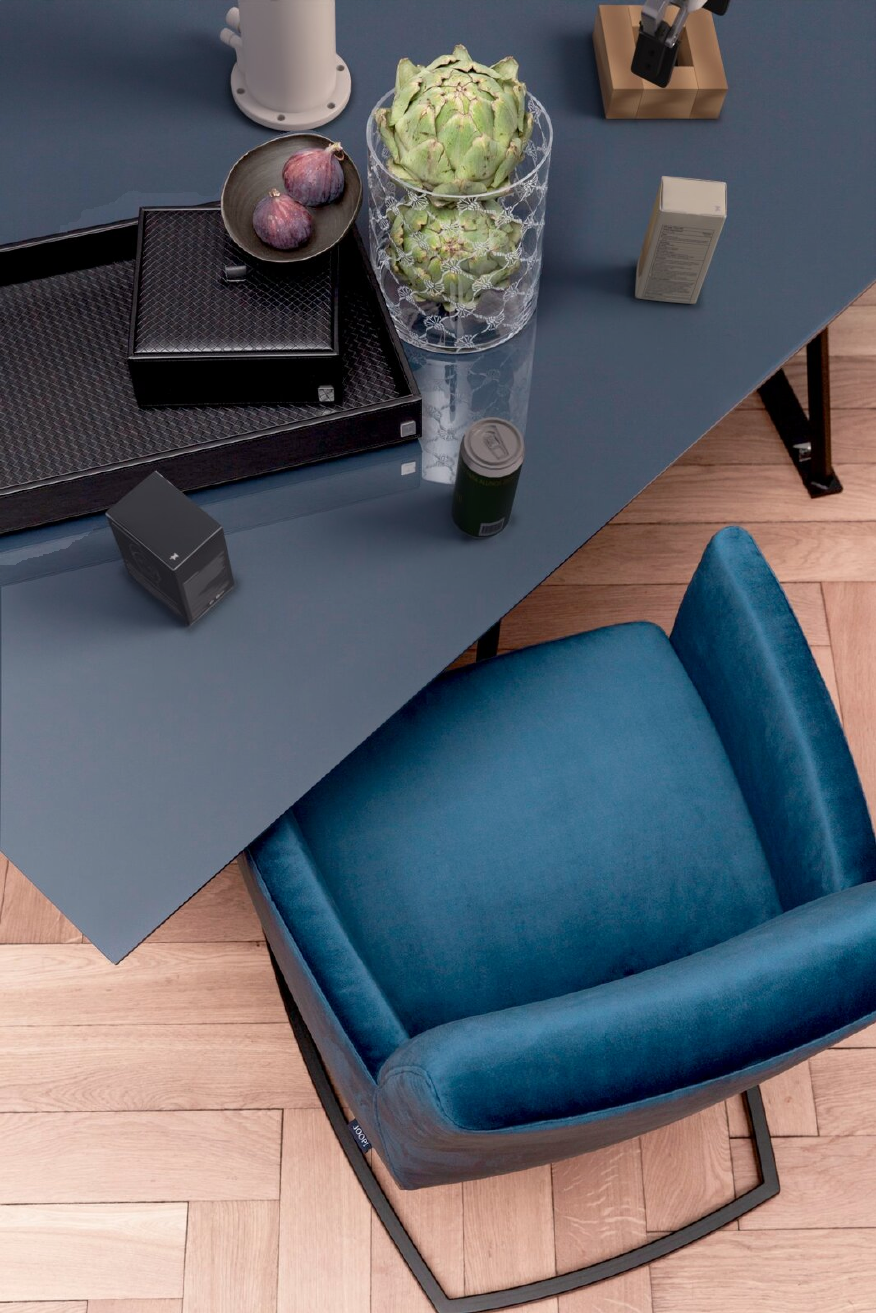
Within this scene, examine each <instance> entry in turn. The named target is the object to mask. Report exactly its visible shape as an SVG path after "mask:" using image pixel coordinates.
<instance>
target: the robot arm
mask: <svg viewBox="0 0 876 1313" xmlns="http://www.w3.org/2000/svg"><path fill="white" fill-rule="evenodd" d="M731 1H732V0H646V1H645V3H644V4H643V5H644V6H643V8H642V11H641V21H639V24H640V27H639V30H638V32H639V35H638V40H637V44H636V48H635V52H634V56H633V60H632V64H631V72H632V73H633V74H635V75H637V76H639V77H641V78H643V79H645V80H647V81H649V82H651V83H653V84H655V85H657V86H659V87H661V88H665V87H666V86H667V85H668V84H669V82H670V79H671V76H672V72H673V69H674V67H675V66H676V61H677V55H678V51H679V48H680V44H681V41H679V40H678V39H677V38H678V36H679V34H680V32H681V30H682V28H683V26H684V23H685V21H686V19H687V17H688V15H689V13H690V12H693V11H696V10H698V9H700V8H701V7H702V8H704V9H706V10H708V11H710V12H711V14H715V15H716V16H718V17H719V16H720V17H722V16H725V14H726V13H727V12H728V10H729V7H730V4H731ZM669 4H671V5H674V6H677V7H679V8H680V9H679V11H678V13H677V16H676V18H675V20H674V22H673V24H672V26H671V27H670V25H669V24H668V23H667V22H665V21H663V19H664V17H665V11H666V8H667V6H668V5H669ZM237 6H238V7H235V6H234V7H231V8H230V9H229V10H228V11H227V14H226V16H225V22H226V25H228V26H229V27H230V28H232V29H234V31H236V32H238V33H240V36H239V35H238V34H237V33H235V32H234V31H233V30H231V29H229V28H227V27H224V28H223V29H222V30H221V31H220V34H219V39H220V41H221V42H222V43H225V45H227V46H229V47H232V48H233V49H234V50H235V53H236V62H235V63H234V65H233V67H232V71H231V74H230V87H231V94H232V97H233V99H234V102H235V104H236V105H237V107H238V108H239V110H240V111H241V112H242V113H243V114H244V115H245V116H246V117H248V118H249V119H251V120H252V121H253V122H255V123H256V124H259V125H262V126H264V127H266V128H270V129H273V130H278V131H283V132H284V131H285V132H301V131H302V132H303V131H308V130H312V129H315V128H319V127H322V126H324V125H325V124H327V123H330V122H331V121H332V120H334V119H335V118H337V117H338V116H339V115H340V114H341V113H342V112H343V110H344V109H345V108H346V106H347V104H348V102H349V100H350V97H351V93H352V79H351V74H350V70H349V68H348V65H347V63H346V62H345V61H344V60H343V58H342V57H341V56H340V55H339V54H338V53H337V50H336V49H337V48H336V46H337V44H336V42H337V41H336V0H237Z"/></svg>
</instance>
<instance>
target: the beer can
mask: <svg viewBox="0 0 876 1313" xmlns="http://www.w3.org/2000/svg"><path fill="white" fill-rule="evenodd" d="M525 455H526V450H525V443H524V437H523V435H522V432H521V431H520V430H519V429H518V428H517V426H516V425H515V424H514V423H512V422H510V421H508V420H507V419H505V418H501V417H498V416H497V417H496V416H494V417H493V416H491V417H490V416H487V417H484V418H480V419H478V420H476V421H474V422H473V423H471V425H470V426H469V427H468V428H467V430H466V431H465V433H464V434H463V436H462V438H461V440H460V444H459V451H458V458H457V464H456V472H455V477H454V478H455V479H454V485H453V492H452V498H451V505H450V512H451V518H452V521H453V522H454V524H455V526H457V528H458V529H459V530H460V531H461V533H463V534H465V535H466V536H468V537H471V538H474V539H488V538H492V537H494V536H496V535H497V534H499V533H501V532H502V531H504V529H505V528H506V526H508V524H509V521H510V518H511V515H512V514H511V513H512V509H513V506H514V501H515V497H516V493H517V489H518V485H519V480H520V476H521V473H522V469H523V465H524V464H523V463H524V461H525V457H526V456H525Z"/></svg>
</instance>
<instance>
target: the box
mask: <svg viewBox="0 0 876 1313" xmlns="http://www.w3.org/2000/svg"><path fill="white" fill-rule="evenodd" d="M105 516H106V519H107V521H108V525H109V527H110V529H111V532H112V534H113V537H114V540H115V542H116V545H117V547H118V550H119V553H120V555H121V558H122V560H123V564H124V566H125V569H126V572H127V573H128V575H129V576H130V577H132V579H133V580H135V581H136V582H137V583H138V584H139V585H140V586H142V587H143V589H145V590H146V591H147V592H149V593H150V595H152V596H153V597H154V598H156V599H157V600H158V601H159V602H160V603H161V604H163V605H164V606H165V607H166V608H167V609H169V611H170V612H172V613H173V614H174V615H176V617H177V618H179V619H180V620H181V621H182V622H183V623H184V624H186V625H187V626H188V627H191V626H192V625H193V624H194V623H195V622H196V621H198V620H199V619H200V618H201V617H203V615H204V614H206V613H207V612H208V611H209V610H210V609H211V608H212V607H213V606H215V605H216V604H217V602H219V601H220V600H221V599H222V598H223V597H224V596H226V594H227V593H228V592H230V591H231V590H233V588H234V587H235V580H234V576H233V575H234V574H233V570H232V564H231V560H230V556H229V555H230V554H229V551H228V546H227V540H226V536H225V531H224V525H223V524H221V523H219V521H217V520H216V519H215V518H213V516H211V515H210V514H209V513H207V511H205V510H204V509H202V508H201V506H199V505H198V504H197V503H195V502H194V501H193V500H192V499H191V498H189V497H188V496H187V495H186V494H185V493H183V492H182V491H181V490H180V489H178V488H177V487H176V486H175V485H173V483H172V482H170V481H169V480H168V479H166V478H165V477H164V476H163V475H162V474H161V473H160V472H158V471H157V470H154V471H153V472H151V474H150V475H148V476H147V477H146V478H144V479H143V480H142V481H141V482H140V483H139V484H138V485H136V486H135V487H134V488H133V489H132V490H130V491H129V492H128V493H127V494H126V495H125V496H123V497H122V498H121V499H120V500H119V501H118V502H116V503H115V504H114V505H112V506H111V507H110V508H108V510H106V512H105Z"/></svg>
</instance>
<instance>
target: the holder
mask: <svg viewBox="0 0 876 1313" xmlns="http://www.w3.org/2000/svg"><path fill="white" fill-rule="evenodd" d="M643 6H644V4H599V5H598V7H597V12H596V17H595V21H594V26H593V30H592V43H593V48H594V49H593V50H594V55H595V61H596V67H597V74H598V79H599V85H600V90H601V98H602V103H603V104H602V105H603V109H604V114H605V115H604V116H605V119H606V120H635V119H636V120H657V119H658V120H674V119H676V120H677V119H678V120H683V119H684V120H686V119H687V120H689V119H690V120H696V119H697V120H702V119H703V120H714V119H715V120H716V119H717V120H718V119H719V116H720V113H721V110H722V107H723V104H724V101H725V99H726V95H727V92H728V90H729V86H728V82H727V78H726V74H725V69H724V64H723V60H722V56H721V50H720V47H719V46H720V45H719V41H718V38H717V32H716V28H715V24H714V19H713V15H712V14H713V13H712V12H710V11H708V10H706V9H704V8H702V7H701V8H700V9H698V10H696V11H693V12H690V13H689V15H688V17H687V19H686V21H685V23H684V26H683V28H682V30H681V32H680V34H679V36H678V38H677V39H678V40H679V41H681V44H680V48H679V51H678V55H677V58H676V61H677V66H674V69H673V72H672V76H671V79H670V82H669V84H668V85H667V86H666V87H665V88H661V87H659V86H657V85H655V84H653V83H651V82H649V81H647V80H645V79H643V78H641V77H639V76H637V75H635V74H633V73H632V72H631V64H632V60H633V56H634V52H635V48H636V44H637V40H638V35H639V32H638V30H639V27H640V24H639V21H641V11H642V8H643ZM679 9H680V8H679V7H677V6H674V5H672V4H671V5H669V4H668V6H667V8H666V11H665V17H664V19H663V21H665V22H667V23H668V24H669V25H670V27H671V26H672V24H673V22H674V20H675V18H676V16H677V13H678V11H679Z"/></svg>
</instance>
